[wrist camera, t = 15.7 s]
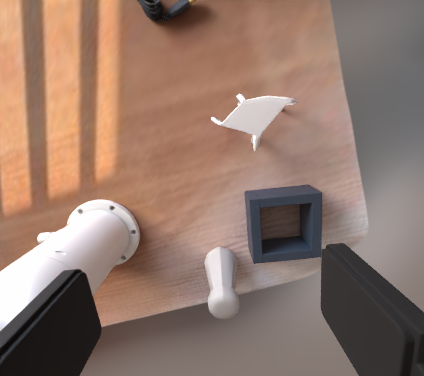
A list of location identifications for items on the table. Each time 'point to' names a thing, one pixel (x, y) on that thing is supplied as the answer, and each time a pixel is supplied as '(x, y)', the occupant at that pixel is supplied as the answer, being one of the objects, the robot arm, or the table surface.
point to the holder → (289, 246)
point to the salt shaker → (222, 282)
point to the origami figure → (255, 115)
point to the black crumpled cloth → (158, 11)
